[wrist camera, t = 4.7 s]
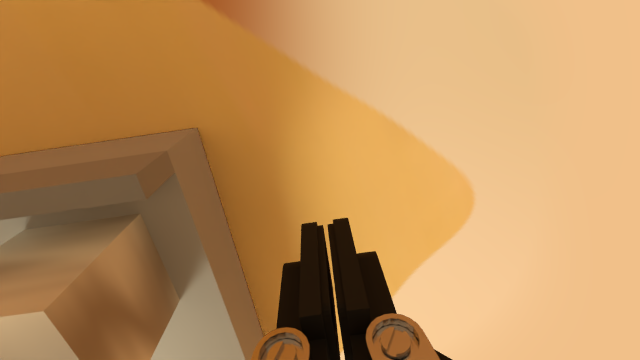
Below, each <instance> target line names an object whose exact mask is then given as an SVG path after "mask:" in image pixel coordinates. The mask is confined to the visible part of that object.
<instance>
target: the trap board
mask: <svg viewBox="0 0 640 360" xmlns="http://www.w3.org/2000/svg"><path fill="white" fill-rule="evenodd" d="M132 214H141V216H142V218H143V221H144V223H145V225H146V227H147V229H148V231H149V234H150V236H151V238H152V240H153V242H154V244H155V247H156V249H157V251H158V253H159V255H160V258H161V260H162V262H163V264H164V266H165V268H166V271H167V273H168V275H169V277H170V279H171V282H172V284H173V286H174V288H175V290H176V292H177V295H178V297H179V299H180V301H179V303H178V305H177V307H176V309H175V311H174V313H173V315H172V317H171V319H170V321H169V323H168V325H167V327H166V329H165V331H164V333H163V335H162V337H161V339H160V341H159V343H158V345H157V347H156V349H155V351H154V354H153V356H152V358H151V360H251V358H252V354H253V352H254V350H255V348H256V346H257V344H258V343H259V341H260V340H261V339H262V338H263V337H264V336H263V333H262V330H261V327H260V324H259V321H258V317H257V314H256V311H255V308H254V305H253V302H252V299H251V295H250V292H249V289H248V286H247V283H246V280H245V277H244V273H243V270H242V267H241V264H240V261H239V258H238V255H237V251H236V248H235V245H234V242H233V239H232V236H231V233H230V229H229V226H228V223H227V220H226V217H225V214H224V211H223V207H222V204H221V201H220V198H219V195H218V192H217V189H216V185H215V182H214V179H213V176H212V173H211V170H210V167H209V164H208V160H207V157H206V154H205V151H204V148H203V145H202V142H201V138H200V135H199V132H198V129H197V128H192V129H185V130H178V131H172V132H165V133H158V134H151V135H144V136H137V137H131V138H124V139H117V140H110V141H103V142H96V143H89V144H83V145H76V146H69V147H62V148H55V149H48V150H42V151H35V152H28V153H21V154H14V155H7V156H1V157H0V245H2V244H4V243H5V242H7V241H8V240H10V239H11V238H13V237H14V236H16V235H17V234H19V233H20V232H22V231H23V230H26V229H33V228H40V227H47V226H54V225H61V224H69V223H76V222H83V221H90V220H97V219H104V218H111V217H118V216H125V215H132Z"/></svg>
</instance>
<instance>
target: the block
mask: <svg viewBox="0 0 640 360" xmlns="http://www.w3.org/2000/svg"><path fill="white" fill-rule="evenodd" d="M179 301H180V299H179V297H178V295H177V292H176V290H175V288H174V286H173V284H172V282H171V279H170V277H169V275H168V273H167V271H166V268H165V266H164V264H163V262H162V260H161V258H160V255H159V253H158V251H157V249H156V247H155V244H154V242H153V240H152V238H151V236H150V234H149V231H148V229H147V227H146V225H145V223H144V221H143V218H142V216H141V214H132V215H125V216H118V217H111V218H104V219H97V220H90V221H83V222H76V223H69V224H61V225H54V226H47V227H40V228H33V229H26V230H23V231H22V232H20V233H19V234H17V235H16V236H14V237H13V238H11V239H10V240H8V241H7V242H5V243H4V244H2V245H0V360H151V358H152V356H153V354H154V351H155V349H156V347H157V345H158V343H159V341H160V339H161V337H162V335H163V333H164V331H165V329H166V327H167V325H168V323H169V321H170V319H171V317H172V315H173V313H174V311H175V309H176V307H177V305H178V303H179Z"/></svg>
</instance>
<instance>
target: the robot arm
mask: <svg viewBox="0 0 640 360" xmlns="http://www.w3.org/2000/svg"><path fill="white" fill-rule="evenodd" d="M328 232H329V241H330V249H331V258H332V266H333V275H334V283H335V292H336V300H337V308H338V316H339V322H340V329H341V336H342V342H343V349H344V355H345V360H452V359H450V358H448V357H447V356H445V355H443V354H441V353H440V352H438V351H436V350H434V349H433V347H432V345H431V344H430V342H429V340H428V339H427V337H426V335H425V333H424V332H423V330H422V329H421V328H420V326H419V325H418V324H417V323H416V322H414V321H413V320H412V319H410V318H408V317H406V316H404V315H401V314H397V313H396V310H395V307H394V304H393V301H392V298H391V295H390V292H389V289H388V286H387V283H386V280H385V277H384V274H383V271H382V268H381V265H380V262H379V259H378V256H377V254H376V252H375V251H373V252H366V253H358V254H356V250H355V246H354V241H353V237H352V233H351V229H350V225H349V221H348V218H342V219H335V220H333V224H328ZM251 360H340V351H339V342H338V333H337V323H336V314H335V305H334V296H333V287H332V280H331V273H330V267H329V261H328V254H327V248H326V241H325V235H324V228H323V225H321V226H317V222H313V223H306V224H302V226H301V260H300V261H299V262H292V263H285V264H284V265H283V272H282V281H281V291H280V300H279V310H278V319H277V328H276V330H273V331H271V332H269V333H268V334H267V335H265V336H264V337H263V338H262V339H261V340H260V341H259V343H258V344H257V346H256V348H255V350H254V352H253V354H252V358H251Z"/></svg>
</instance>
